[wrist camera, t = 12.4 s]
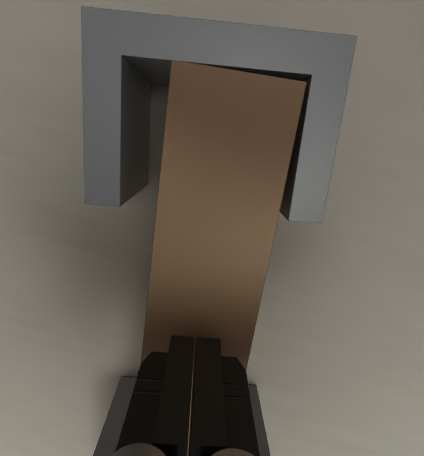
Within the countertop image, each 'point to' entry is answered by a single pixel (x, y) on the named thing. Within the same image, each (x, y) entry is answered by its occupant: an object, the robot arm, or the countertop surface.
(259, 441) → the endcap
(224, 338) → the brown wooden bar
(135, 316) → the countertop surface
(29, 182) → the countertop surface
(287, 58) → the endcap
